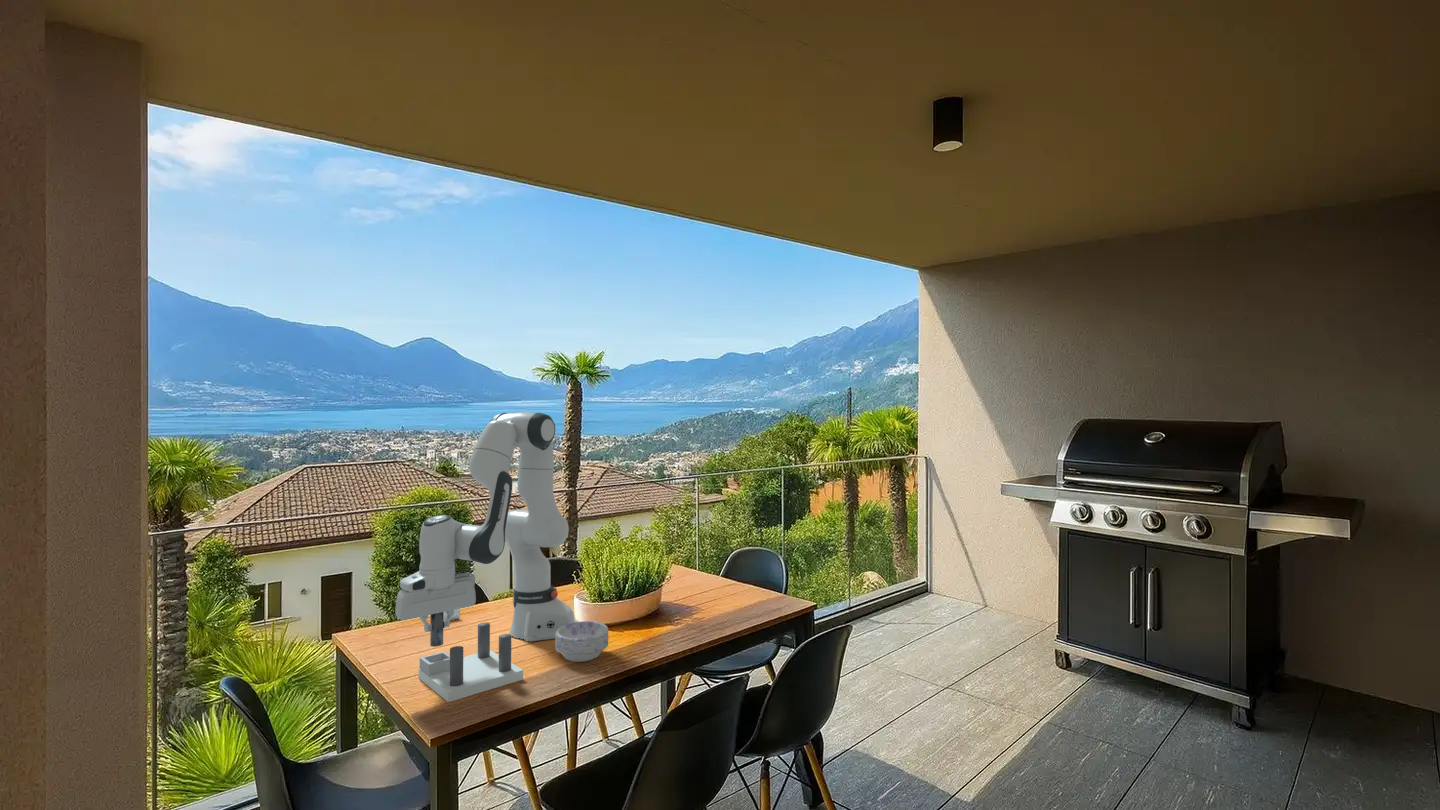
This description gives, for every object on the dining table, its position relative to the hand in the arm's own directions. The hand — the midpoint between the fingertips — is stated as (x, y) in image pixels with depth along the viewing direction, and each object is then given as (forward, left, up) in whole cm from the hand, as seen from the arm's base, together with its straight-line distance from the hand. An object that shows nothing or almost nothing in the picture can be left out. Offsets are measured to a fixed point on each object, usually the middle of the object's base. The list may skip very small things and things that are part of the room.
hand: (436, 629), depth 177 cm
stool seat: (-9, +2, -13) cm, 16 cm away
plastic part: (+9, -53, -14) cm, 55 cm away
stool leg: (0, 0, -4) cm, 4 cm away
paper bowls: (-38, -9, -14) cm, 41 cm away
